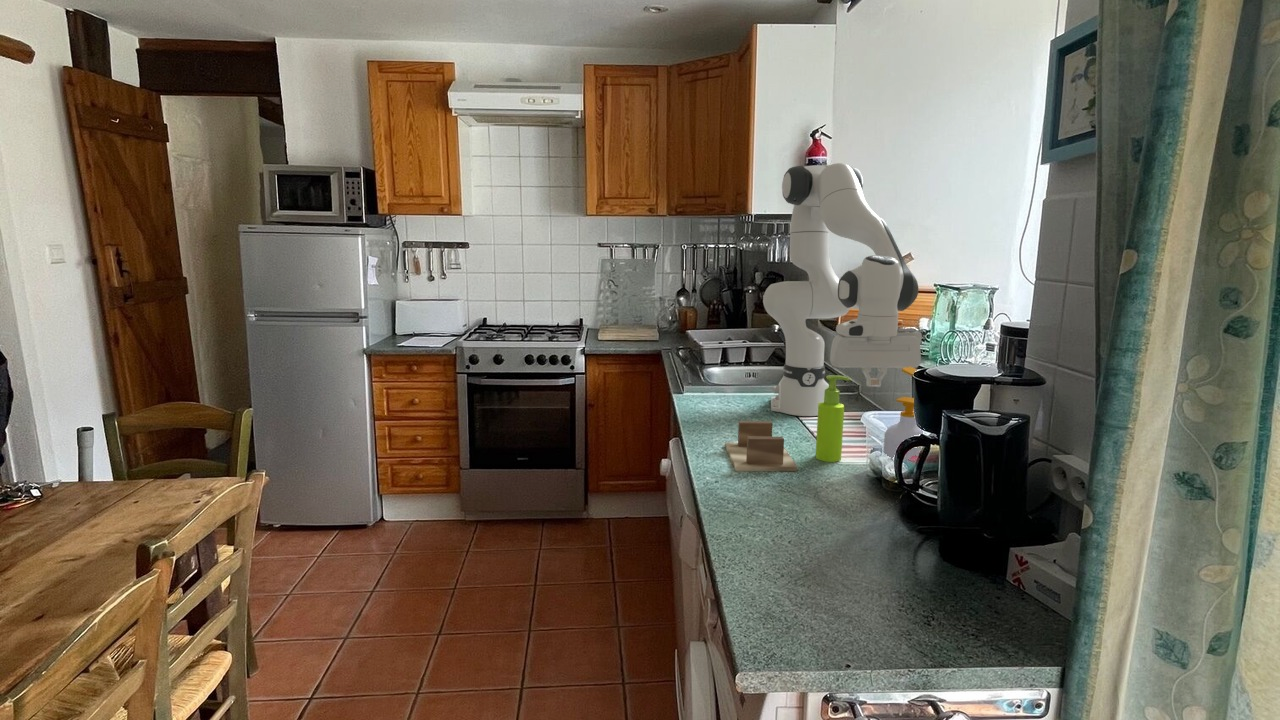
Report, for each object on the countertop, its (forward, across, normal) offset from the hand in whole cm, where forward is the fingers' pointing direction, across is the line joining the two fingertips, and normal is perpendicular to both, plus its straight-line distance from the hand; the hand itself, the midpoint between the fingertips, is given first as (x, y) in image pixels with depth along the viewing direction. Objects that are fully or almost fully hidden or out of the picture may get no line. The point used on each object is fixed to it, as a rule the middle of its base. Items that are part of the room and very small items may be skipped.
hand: (873, 386), depth 157 cm
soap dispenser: (+18, +9, 0) cm, 20 cm away
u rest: (+18, +26, 0) cm, 31 cm away
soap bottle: (+18, -3, +14) cm, 23 cm away
